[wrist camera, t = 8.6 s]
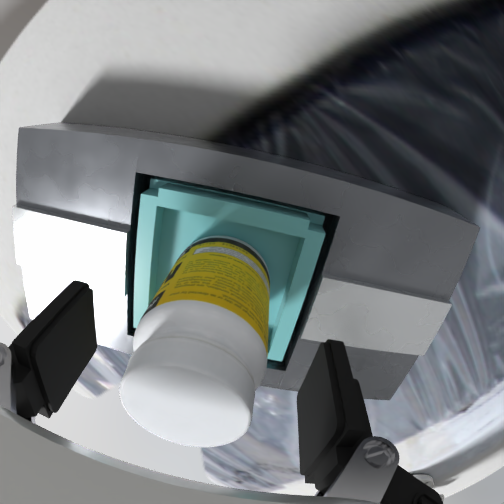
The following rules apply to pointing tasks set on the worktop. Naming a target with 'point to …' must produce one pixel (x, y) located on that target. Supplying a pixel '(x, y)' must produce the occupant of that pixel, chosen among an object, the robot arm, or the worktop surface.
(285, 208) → the tray
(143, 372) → the supplement bottle
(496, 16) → the worktop surface
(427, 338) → the block
